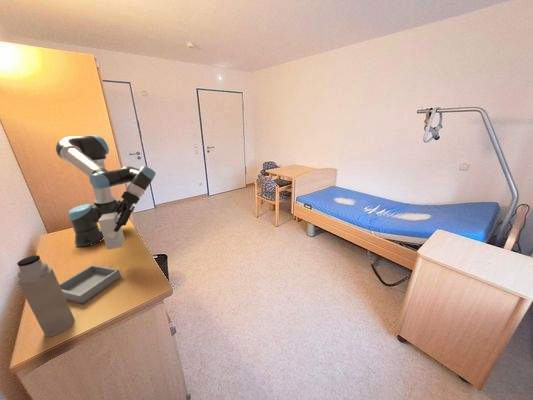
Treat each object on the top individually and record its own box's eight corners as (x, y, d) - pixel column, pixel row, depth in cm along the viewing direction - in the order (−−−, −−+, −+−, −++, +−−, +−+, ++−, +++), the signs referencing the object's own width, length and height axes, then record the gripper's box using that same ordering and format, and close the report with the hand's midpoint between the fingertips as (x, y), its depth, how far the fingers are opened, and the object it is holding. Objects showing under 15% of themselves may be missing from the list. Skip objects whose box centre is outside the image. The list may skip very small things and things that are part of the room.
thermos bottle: (37, 336, 72) (0, 267, 63) (60, 317, 80) (29, 252, 71) (60, 336, 72) (26, 266, 63) (80, 316, 79) (52, 251, 71)
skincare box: (111, 242, 108) (102, 214, 103) (126, 239, 110) (118, 211, 105) (107, 250, 101) (96, 220, 96) (123, 246, 103) (114, 217, 98)
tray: (95, 272, 105) (92, 264, 104) (121, 277, 101) (119, 269, 99) (54, 297, 90) (51, 288, 89) (83, 304, 85) (79, 296, 84)
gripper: (150, 201, 104) (123, 243, 97) (130, 194, 117) (105, 231, 110) (136, 193, 98) (106, 238, 92) (116, 187, 111) (89, 226, 105)
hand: (105, 234), depth 101 cm, fingers closed on skincare box, 10 cm apart
